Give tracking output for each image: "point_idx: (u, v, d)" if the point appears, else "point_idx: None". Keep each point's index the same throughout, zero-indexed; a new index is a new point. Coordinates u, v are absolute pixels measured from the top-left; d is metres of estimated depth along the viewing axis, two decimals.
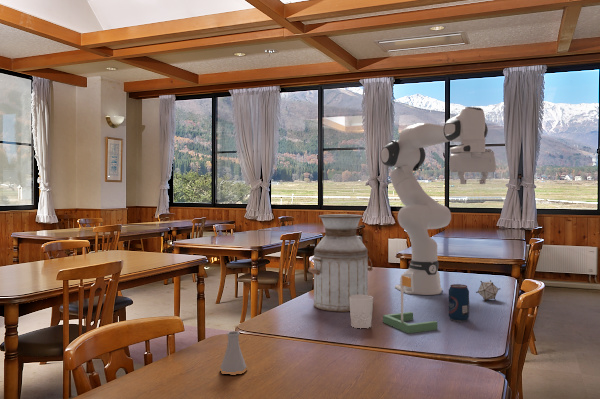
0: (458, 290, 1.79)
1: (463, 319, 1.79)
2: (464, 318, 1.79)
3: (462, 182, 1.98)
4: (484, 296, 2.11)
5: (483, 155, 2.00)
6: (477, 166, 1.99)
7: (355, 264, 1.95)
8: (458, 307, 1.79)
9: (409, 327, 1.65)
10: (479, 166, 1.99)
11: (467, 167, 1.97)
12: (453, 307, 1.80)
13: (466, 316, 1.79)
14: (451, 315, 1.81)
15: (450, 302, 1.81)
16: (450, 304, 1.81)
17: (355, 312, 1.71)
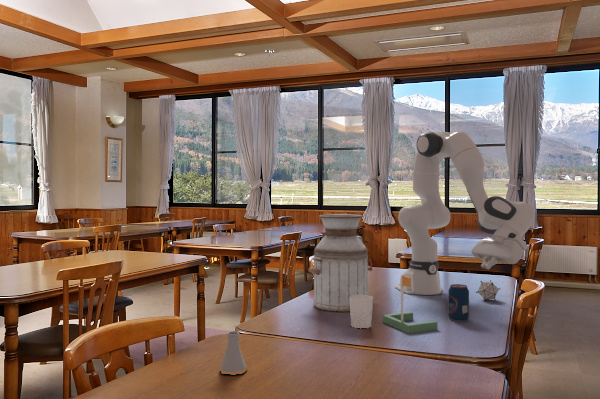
0: (458, 290, 1.79)
1: (463, 319, 1.79)
2: (464, 318, 1.79)
3: (489, 267, 1.85)
4: (484, 296, 2.11)
5: None
6: None
7: (355, 264, 1.95)
8: (458, 307, 1.79)
9: (409, 327, 1.65)
10: None
11: None
12: (453, 307, 1.80)
13: (466, 316, 1.79)
14: (451, 315, 1.81)
15: (450, 302, 1.81)
16: (450, 304, 1.81)
17: (355, 312, 1.71)
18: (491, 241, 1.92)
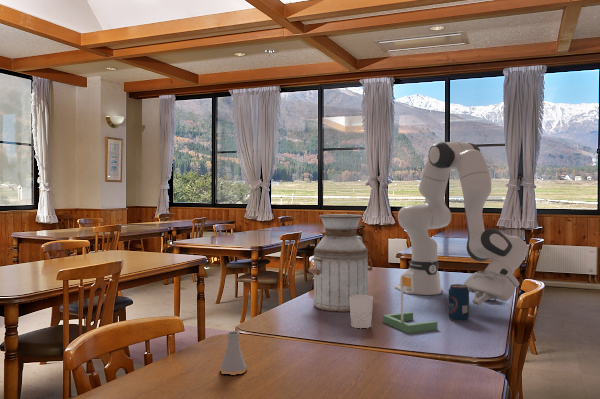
0: (458, 290, 1.79)
1: (463, 319, 1.79)
2: (464, 318, 1.79)
3: (480, 303, 1.84)
4: None
5: None
6: None
7: (355, 264, 1.95)
8: (458, 307, 1.79)
9: (409, 327, 1.65)
10: None
11: None
12: (453, 307, 1.80)
13: (466, 316, 1.79)
14: (451, 315, 1.81)
15: (450, 302, 1.81)
16: (450, 304, 1.81)
17: (355, 312, 1.71)
18: (483, 276, 1.91)
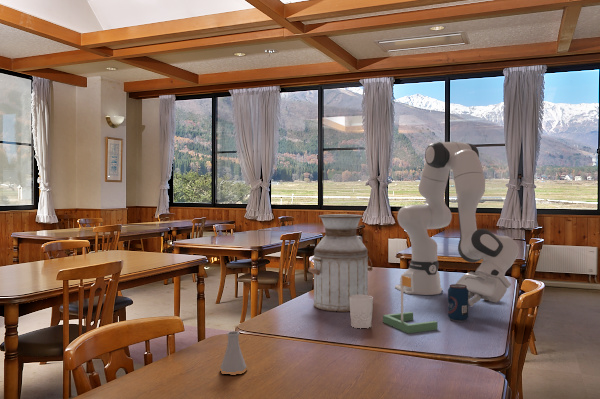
0: (458, 290, 1.79)
1: (462, 319, 1.79)
2: (463, 318, 1.79)
3: (471, 304, 1.82)
4: None
5: None
6: None
7: (355, 264, 1.95)
8: (458, 307, 1.79)
9: (409, 327, 1.65)
10: None
11: None
12: (453, 307, 1.80)
13: (465, 316, 1.79)
14: (450, 315, 1.81)
15: (449, 302, 1.81)
16: (449, 304, 1.81)
17: (355, 312, 1.71)
18: (474, 276, 1.89)
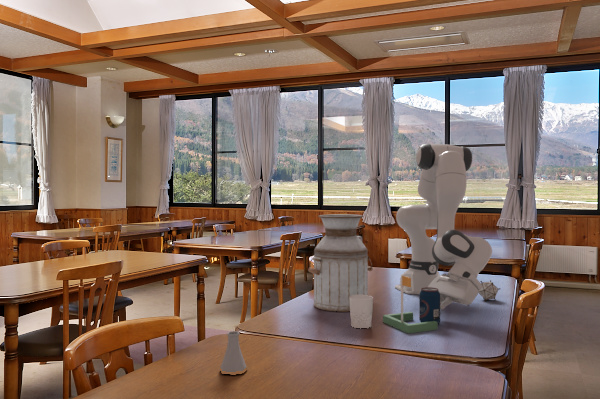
0: (429, 294, 1.73)
1: None
2: None
3: (442, 307, 1.77)
4: (484, 296, 2.11)
5: None
6: None
7: (355, 264, 1.95)
8: (429, 311, 1.73)
9: (409, 327, 1.65)
10: None
11: None
12: (424, 311, 1.74)
13: (437, 320, 1.74)
14: (422, 319, 1.75)
15: (421, 306, 1.75)
16: (421, 308, 1.75)
17: (355, 312, 1.71)
18: (446, 279, 1.84)
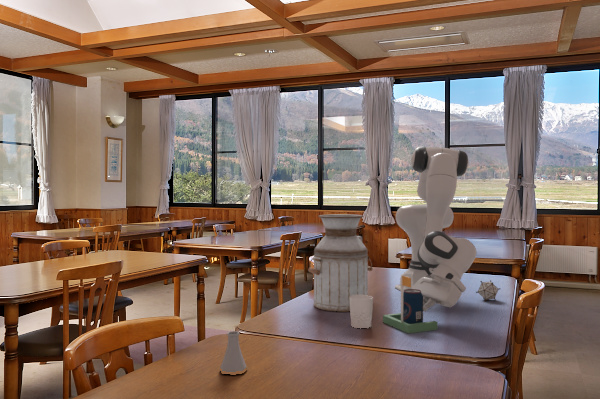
0: (412, 296, 1.71)
1: None
2: None
3: (425, 309, 1.74)
4: (484, 296, 2.11)
5: None
6: None
7: (355, 264, 1.95)
8: (412, 314, 1.71)
9: (409, 327, 1.65)
10: None
11: None
12: (406, 313, 1.71)
13: (420, 322, 1.71)
14: None
15: (403, 308, 1.73)
16: (403, 310, 1.73)
17: (355, 312, 1.71)
18: (430, 280, 1.81)
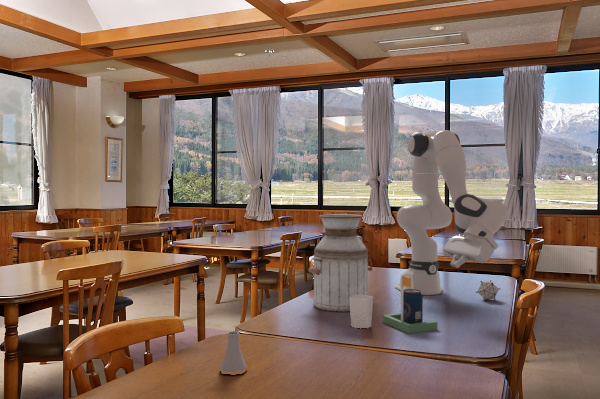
0: (411, 296, 1.71)
1: None
2: None
3: (458, 266, 1.81)
4: (484, 296, 2.11)
5: None
6: None
7: (355, 264, 1.95)
8: (411, 314, 1.71)
9: (409, 327, 1.65)
10: None
11: None
12: (406, 313, 1.71)
13: None
14: None
15: (403, 308, 1.73)
16: (403, 310, 1.73)
17: (355, 312, 1.71)
18: (462, 239, 1.87)
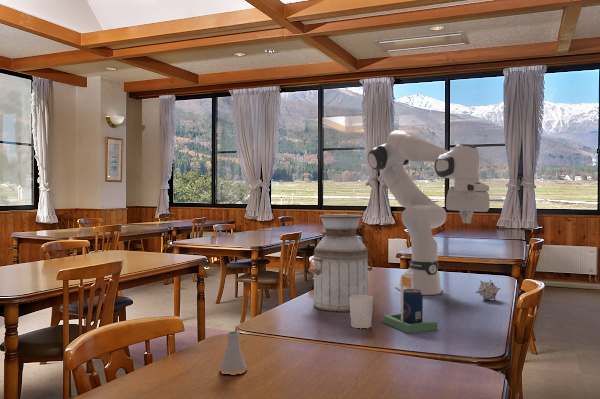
0: (411, 296, 1.71)
1: None
2: None
3: (469, 221, 1.94)
4: (484, 296, 2.11)
5: None
6: None
7: (355, 264, 1.95)
8: (411, 314, 1.71)
9: (409, 327, 1.65)
10: None
11: None
12: (406, 313, 1.71)
13: None
14: None
15: (403, 308, 1.73)
16: (403, 310, 1.73)
17: (355, 312, 1.71)
18: (456, 194, 1.98)
